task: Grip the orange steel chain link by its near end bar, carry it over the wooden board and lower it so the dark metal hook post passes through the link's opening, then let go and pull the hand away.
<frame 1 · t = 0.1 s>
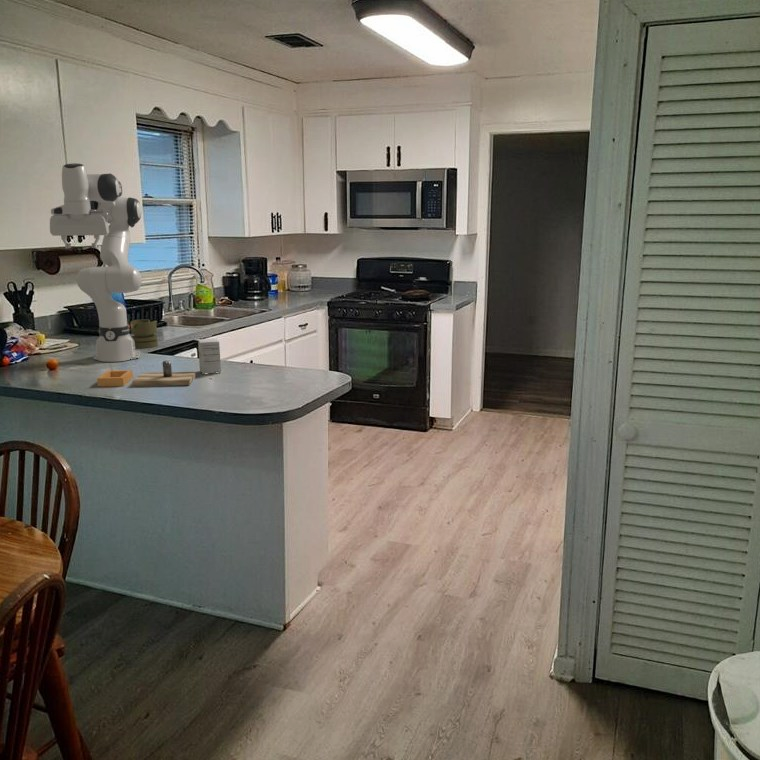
hand: (81, 248, 262), 48 cm above the countertop, tool pointing down, fingers open, 8 cm apart
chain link: (116, 382, 261), on the countertop
supplement box: (210, 372, 277), on the countertop
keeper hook: (168, 381, 261), resting on wooden board
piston: (145, 347, 331), on the countertop
wooden board: (165, 381, 261), on the countertop
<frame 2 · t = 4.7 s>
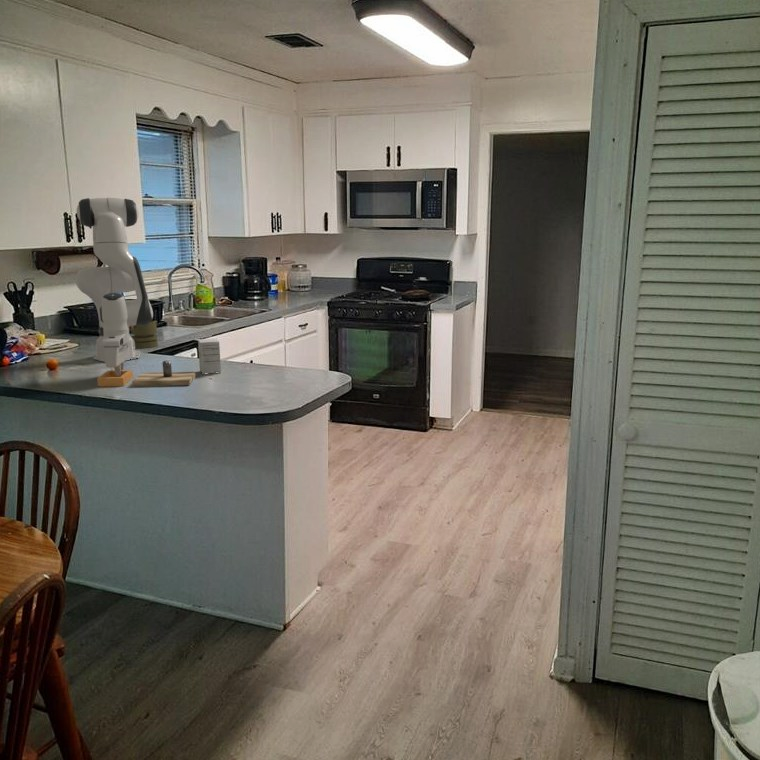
hand: (120, 374, 266), 2 cm above the countertop, tool pointing down, fingers closed on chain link
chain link: (116, 382, 261), on the countertop, touching gripper
everything else where it was.
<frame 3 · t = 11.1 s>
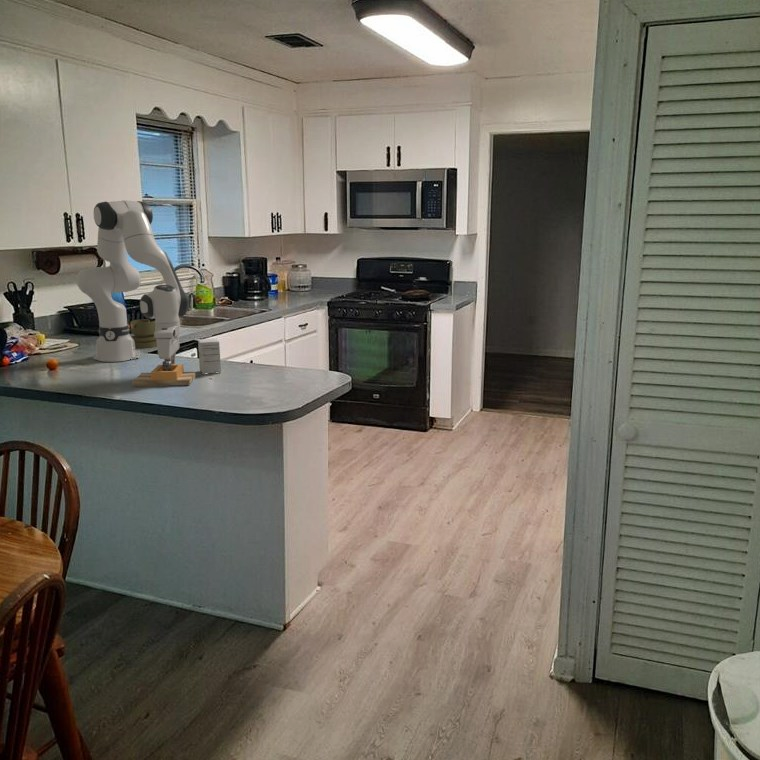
hand: (170, 366, 266), 5 cm above the countertop, tool pointing down, fingers open, 5 cm apart
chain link: (167, 376, 261), point 2 cm above the countertop, touching wooden board
everything else where it was.
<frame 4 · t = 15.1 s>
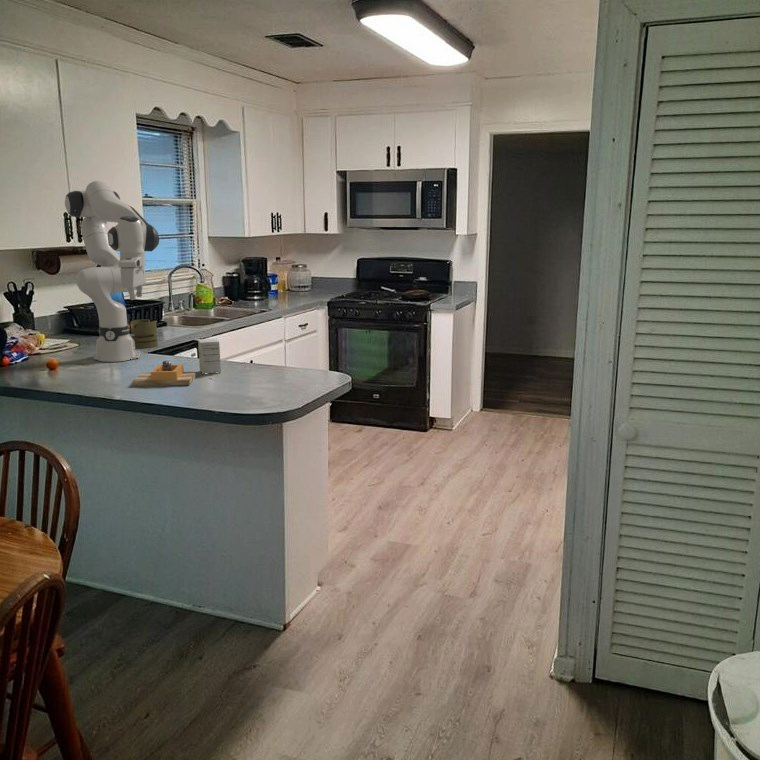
hand: (136, 298, 268), 29 cm above the countertop, tool pointing down, fingers open, 8 cm apart
nothing on the countertop moved.
at the end: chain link 0.2 cm from the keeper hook (horizontally); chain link point 2.0 cm above the countertop; the gripper is holding nothing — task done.
